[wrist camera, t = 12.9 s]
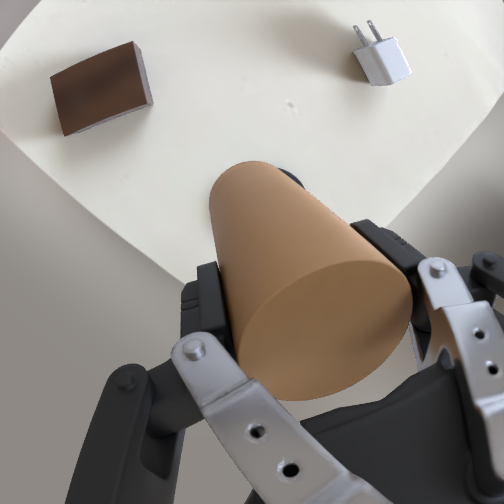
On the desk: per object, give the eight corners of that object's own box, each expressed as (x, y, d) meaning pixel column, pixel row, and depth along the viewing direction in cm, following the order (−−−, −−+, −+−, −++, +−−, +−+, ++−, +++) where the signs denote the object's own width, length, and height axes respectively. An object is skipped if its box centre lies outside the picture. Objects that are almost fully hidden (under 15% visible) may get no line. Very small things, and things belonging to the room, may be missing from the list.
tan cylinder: (339, 355, 17) (462, 371, 5) (258, 381, 17) (259, 459, 5) (281, 182, 20) (300, 32, 9) (208, 201, 20) (161, 57, 8)
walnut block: (153, 104, 24) (147, 103, 21) (79, 132, 24) (64, 137, 20) (140, 49, 21) (132, 40, 18) (66, 79, 21) (49, 77, 17)
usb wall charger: (369, 85, 27) (389, 85, 23) (338, 31, 24) (357, 24, 20) (393, 73, 26) (414, 72, 23) (365, 21, 23) (385, 14, 20)
